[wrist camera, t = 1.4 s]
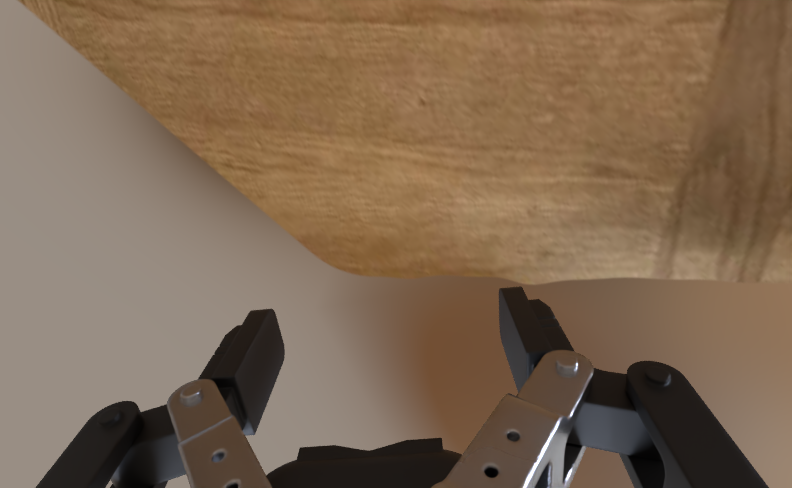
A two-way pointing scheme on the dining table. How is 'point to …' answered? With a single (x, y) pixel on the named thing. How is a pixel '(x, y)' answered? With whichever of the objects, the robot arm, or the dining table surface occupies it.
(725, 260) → the dining table surface
